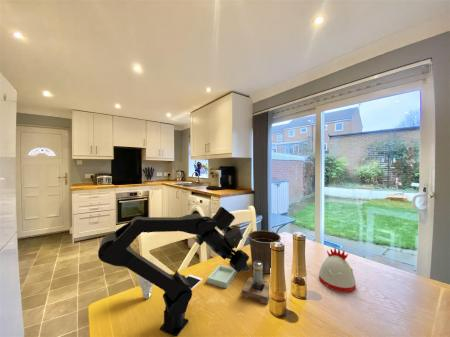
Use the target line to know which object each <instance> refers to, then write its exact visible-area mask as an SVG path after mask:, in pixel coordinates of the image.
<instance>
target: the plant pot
mask: <svg viewBox="0 0 450 337" xmlns="http://www.w3.org/2000/svg"><path fill="white" fill-rule="evenodd" d="M247 238H248V241H249V247H250V258H251V259H250V260H251V267H252V268H253V262H254V261H261V262H262V264H263V269H262V275H263V274H264V275H265V274H271V273H270V268H271V248H270V243H271V242H281V240H282V237H281V235H280V234H278V233H277V232H274V231H269V230H254V231H251V232H249V233H247Z"/></svg>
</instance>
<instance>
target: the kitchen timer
mask: <svg viewBox="0 0 450 337" xmlns="http://www.w3.org/2000/svg"><path fill="white" fill-rule="evenodd" d="M326 253H327V255H328V256H327V257H326V258H325V259H324V260H323V262H322V263H321V266H320V269H319V273H318V278H319V281H320V282H321V283H322V284H323V285H324V284H325V285H324V286H326V287H328V288H329V287H330V289H332V288H333V289H332V290H334V289H335V291H338V290H339V291H338V292H344V291H345V292H346V291H350V292H353V291H355V290H356V279H355V275H354V272H353V270H354V269H353V268H352V267H351V265H350V264H349V262H348V261H347V260H346V259H347V258H348V256H349V253H347V254H345V249H344V250H343V251H342V252H341V249H340V248H338V250H337V248H336V247H334V249H332V248H330V252H329V251H328V250H327V251H326ZM352 290H353V291H352ZM345 292H344V293H345ZM346 293H347V292H346Z"/></svg>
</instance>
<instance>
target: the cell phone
mask: <svg viewBox="0 0 450 337" xmlns="http://www.w3.org/2000/svg"><path fill="white" fill-rule="evenodd" d="M185 277H186V279H187V281H188V283H189V284H190V288H191V290H192V291H193V290H194V289H195V288H196V286H198V285H199V284H200V283H201V282H202V281H204V278H202V277H199V276H195V275H193V274H188V275H187V276H185Z"/></svg>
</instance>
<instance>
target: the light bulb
mask: <svg viewBox="0 0 450 337" xmlns="http://www.w3.org/2000/svg"><path fill="white" fill-rule="evenodd" d="M137 284H138V286H139V287H140V288H141V293H142V298H143V299H149V298H151V296H152V290H153V289H152V288H153V286H154V284H152V283H151V282H149V281H148V280H146V279H144V278H143V277H141V276H139V275H138V276H137Z"/></svg>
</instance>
